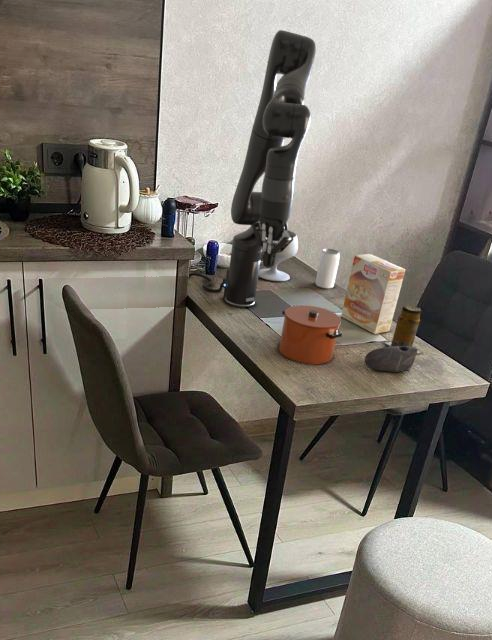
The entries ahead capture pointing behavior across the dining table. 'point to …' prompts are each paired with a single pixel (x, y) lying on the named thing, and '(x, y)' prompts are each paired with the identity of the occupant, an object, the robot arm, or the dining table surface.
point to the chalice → (285, 254)
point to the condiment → (406, 327)
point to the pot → (309, 334)
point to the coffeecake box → (372, 293)
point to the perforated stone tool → (391, 358)
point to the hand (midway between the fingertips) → (268, 266)
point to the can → (327, 268)
